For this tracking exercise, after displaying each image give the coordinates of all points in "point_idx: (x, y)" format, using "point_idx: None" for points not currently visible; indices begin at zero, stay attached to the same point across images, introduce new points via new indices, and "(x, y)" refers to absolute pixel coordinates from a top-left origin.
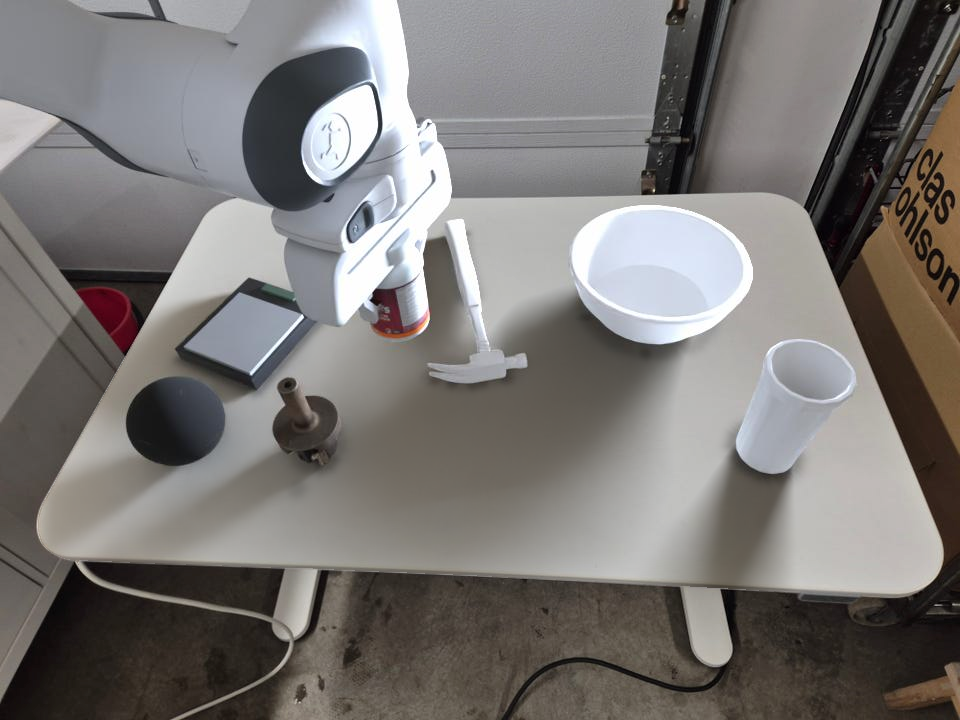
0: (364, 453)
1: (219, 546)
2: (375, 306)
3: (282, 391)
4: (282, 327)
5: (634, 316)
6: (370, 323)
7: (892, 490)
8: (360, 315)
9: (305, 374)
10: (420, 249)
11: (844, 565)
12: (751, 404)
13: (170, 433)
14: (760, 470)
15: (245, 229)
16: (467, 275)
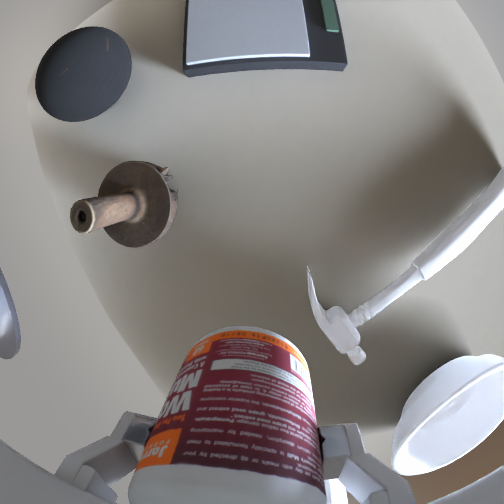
0: (176, 252)
1: (55, 192)
2: (131, 469)
3: (72, 218)
4: (274, 44)
5: (397, 451)
6: (184, 360)
7: None
8: (121, 417)
9: (236, 110)
10: (350, 490)
11: None
12: (327, 498)
13: (42, 105)
14: None
15: None
16: (461, 242)
